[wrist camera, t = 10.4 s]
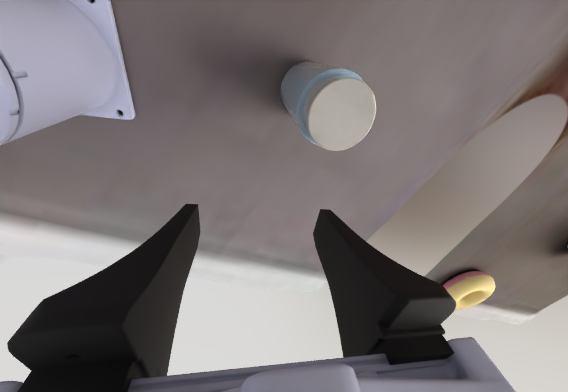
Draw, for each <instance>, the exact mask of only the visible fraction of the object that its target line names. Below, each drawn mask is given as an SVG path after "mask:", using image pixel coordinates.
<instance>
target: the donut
mask: <svg viewBox="0 0 568 392" xmlns="http://www.w3.org/2000/svg"><path fill="white" fill-rule="evenodd" d="M443 286H444V288H445V289H446V290H447V291H448V293H449V294H450V295H451V296H452V297H453V299H454V300H455V301H456V308H455V310H462V309H466V308H469V307H472V306H474V305H477V304H479V303H480V302H482V301H484V300H485V299H487V298H488V297H489V296H490V295H491V294H492V293H493V291H494V289H495V282H494V280H493V278H492V277H491V276H489V275H488V274H486V273H484V272H480V271H471V272H466V273H463V274H460V275H458V276H455V277H453V278H452V279H450V280H449V281H447V282H446V283H445V284H443Z"/></svg>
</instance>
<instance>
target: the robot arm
mask: <svg viewBox="0 0 568 392" xmlns="http://www.w3.org/2000/svg"><path fill="white" fill-rule="evenodd" d="M118 110H121V111H122V112H123V115H121V114H119V112H118ZM77 115H86V116H95V117H105V118H114V119H124V120H131V119H133V118H134V117H135V110H134V105H133V101H132V96H131V92H130V87H129V82H128V78H127V73H126V69H125V64H124V60H123V55H122V50H121V46H120V41H119V37H118V32H117V28H116V23H115V19H114V14H113V9H112V5H111V1H110V0H95V2H94V3H92V2H91V1H90V0H0V145H3V144H5V143H8V142H11V141H13V140H16V139H18V138H21V137H23V136H26V135H28V134H31V133H34V132H36V131H39V130H41V129H44V128H46V127H49V126H52V125H54V124H57V123H59V122H62V121H64V120H67V119H69V118H72V117H75V116H77ZM199 236H200V223H199V211H198V204H186V205H184V206H183V207H182V208H181V209H180V211H179V212H178V213H177V214H176V215H175V216H174V217H173V218H172V219H171V220H170V221H168V222H167V223H166V224H165V225H164V226H163V227H162V228H161V229H160V230H159V231H158V232H156V233H155V234H154V235H153V236H152V237H151V238H149V239H148V240H147V241H146V242H144V243H143V244H142V245H141V246H139V247H138V248H136V249H135V250H134V251H132V252H131V253H129V254H128V255H126V256H125V257H123V258H122V259H120V260H118V261H117V262H115V263H114V264H112V265H110V266H109V267H107V268H105V269H104V270H102V271H100V272H98V273H97V274H95V275H93V276H91V277H89V278H87V279H85V280H84V281H82V282H79V283H78V284H75V285H73V286H71V287H69V288H67V289H65V290H63V291H61V292H59V293H57V294H55V295H52V296H50V297H48V298H46V299H44V300H43V301H42V302H41V303H40V304H39V305H38V306H37V307H36V308H35V310H34V311H33V312H32V313H31V314H30V315H29V317H28V318H27V319H26V320H25V322H24V323H23V324H22V325H21V326H20V328H19V329H18V330H17V331H16V333H15V334H14V335H13V336H12V338H11V339H10V340H9V342H8V350H9V352H10V353H11V354H12V355H13V356H14V357H15V358H16V359H18V360H19V361H20V362H21V363H23V364H24V365H25V366H26V367H28V368H29V369H30V370H31V373H30V374H29V376H28V377H27V378H26V380H25V381H24V383H22V382H18V381H3V382H0V392H515V390H514V389H513V388H512V386H511V385H510V384H509V383H508V381H507V380H506V379H505V378H504V376H503V375H502V374H501V372H500V371H499V370H498V368H497V367H496V366H495V365H494V363H493V362H492V361H491V360H490V358H489V357H488V356H487V354H486V353H485V352H484V350H483V349H482V348H481V347H480V345H479V344H478V343H477V341H476V340H475V339H474V338H472V337H468V338H457V339H451V340H449V341H446V340H445V338H444V337H443V336H442V334H444V333H445V331H444V329H443V328H442V326H441V325H440V324H441V323H442V322H443V321H444V320H445V319H447V318H448V317H449V316H450V315H451V314H452V313H453V311H454V310H455V308H456V301H455V300H454V299H453V297H452V296H451V295H450V294H449V293H448V291H447V290H446V289H445V288H444V286H443V285H441V284H439V283H437V282H434V281H432V280H430V279H428V278H426V277H423V276H421V275H419V274H417V273H415V272H413V271H411V270H409V269H407V268H405V267H404V266H402V265H400V264H398V263H397V262H395V261H393V260H392V259H390V258H388V257H387V256H385V255H383V254H382V253H381V252H379V251H378V250H376V249H375V248H373V247H372V246H371V245H370V244H368V243H367V242H366V241H365V240H363V239H362V238H361V237H360V236H358V235H357V234H356V233H355V232H354V231H353V230H351V229H350V228H349V227H348V226H347V225H346V224H345V223H344V222H343V221H342V220H341V219H340V218H338V217H337V216H336V215H335V214H334V213H333V212H332V211H331V210H326V209H320V212H319V216H318V219H317V222H316V226H315V229H314V232H313V236H314V241H315V246H316V249H317V252H318V255H319V258H320V261H321V264H322V267H323V269H324V272H325V275H326V278H327V281H328V284H329V287H330V291H331V295H332V300H333V304H334V308H335V313H336V318H337V323H338V328H339V333H340V339H341V345H342V350H343V358H336V359H326V360H317V361H307V362H297V363H288V364H278V365H268V366H259V367H249V368H239V369H229V370H219V371H210V372H200V373H190V374H182V375H171V376H167V372H168V366H169V360H170V354H171V349H172V343H173V338H174V333H175V328H176V323H177V318H178V313H179V308H180V303H181V299H182V295H183V290H184V287H185V283H186V280H187V277H188V274H189V271H190V268H191V265H192V262H193V259H194V256H195V253H196V250H197V246H198V241H199Z"/></svg>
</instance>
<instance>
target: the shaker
mask: <svg viewBox="0 0 568 392" xmlns="http://www.w3.org/2000/svg"><path fill="white" fill-rule="evenodd" d="M281 98H282V102H283V104H284V106H285V107H286V109H287V111H288V112H289V114H290V115H291V117H292V118H293V120H294V121H295V123H296V125H297V126H298V128H299V129H300V131H301V132H302V134H303V135H304V137H305V138H306V139H307V140H309V141H310V142H311V143H313V144H315V145H318V146H320V147H322V148H324V149H326V150H331V151H340V150H345V149H348V148H350V147H352V146H354V145H355V144H357V143H358V142H360V141H361V140H362V139H363V138H364V137H365V136H366V134H367V133H368V132H369V130H370V128H371V126H372V124H373V122H374V119H375V114H376V101H375V97H374V94H373V92H372V90H371V89H370V87H369V86H368V85H367V84H366V83H365V82H364V81H363V79H362V78H361V77H360V76H359V75H358V74H356V73H355V72H353V71H351V70H348V69H344V68H339V67H335V66H330V65H325V64H320V63H315V62H309V61H306V62H300V63H298V64H296V65H294V66H293V67H292V68H290V69H289V70H288V72H287V73H286V75H285V76H284V78H283V81H282V84H281Z"/></svg>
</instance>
